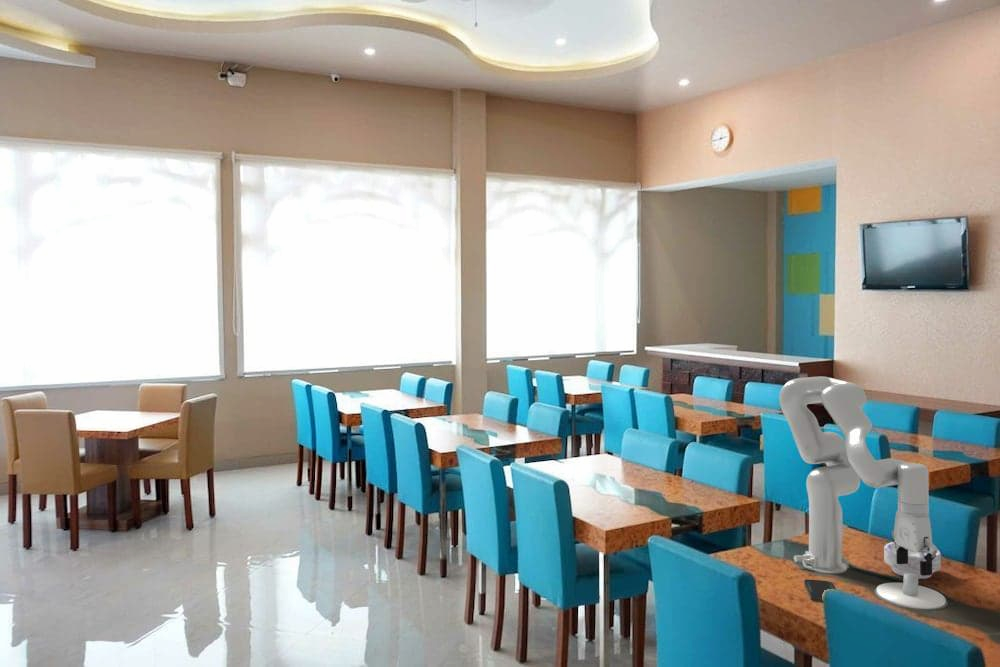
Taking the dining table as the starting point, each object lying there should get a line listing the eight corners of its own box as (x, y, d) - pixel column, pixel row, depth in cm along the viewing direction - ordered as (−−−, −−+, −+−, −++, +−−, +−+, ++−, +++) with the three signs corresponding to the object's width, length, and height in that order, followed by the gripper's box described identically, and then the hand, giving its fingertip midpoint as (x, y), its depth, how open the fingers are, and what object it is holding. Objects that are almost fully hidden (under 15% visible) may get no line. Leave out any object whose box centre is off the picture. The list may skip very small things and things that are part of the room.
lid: (902, 611, 202) (903, 588, 202) (863, 587, 219) (864, 565, 219) (960, 607, 205) (960, 584, 205) (917, 583, 222) (917, 562, 221)
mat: (902, 613, 202) (902, 612, 202) (861, 588, 220) (861, 586, 220) (963, 609, 204) (963, 607, 204) (917, 584, 222) (917, 583, 222)
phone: (832, 581, 223) (840, 601, 209) (832, 585, 223) (840, 605, 209) (803, 579, 225) (809, 598, 211) (803, 582, 225) (809, 602, 211)
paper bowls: (873, 566, 237) (873, 541, 237) (918, 564, 239) (919, 539, 239) (904, 584, 222) (904, 558, 222) (952, 582, 224) (953, 556, 224)
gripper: (881, 501, 219) (881, 560, 219) (922, 516, 202) (923, 580, 202) (904, 500, 220) (905, 558, 220) (948, 515, 203) (948, 578, 203)
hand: (914, 569), depth 211 cm, fingers open, 9 cm apart
